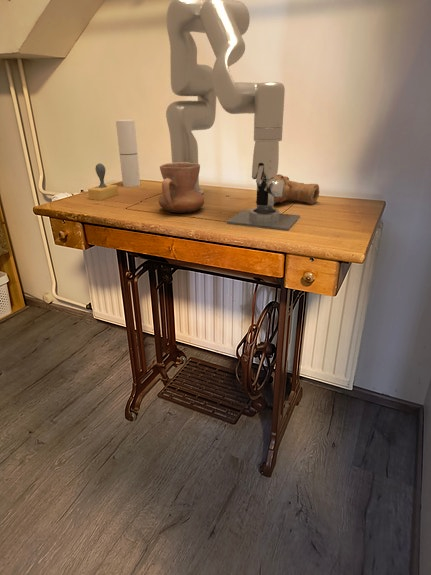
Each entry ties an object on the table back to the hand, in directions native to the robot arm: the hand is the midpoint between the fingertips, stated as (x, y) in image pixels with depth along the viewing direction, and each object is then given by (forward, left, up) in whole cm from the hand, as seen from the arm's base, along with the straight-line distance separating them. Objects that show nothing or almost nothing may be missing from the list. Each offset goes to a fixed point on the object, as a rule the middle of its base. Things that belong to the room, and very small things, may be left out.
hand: (265, 202), depth 111 cm
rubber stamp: (-64, +8, -6) cm, 65 cm away
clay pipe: (+1, +22, -6) cm, 23 cm away
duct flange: (0, 0, -5) cm, 5 cm away
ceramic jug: (-28, +1, -6) cm, 29 cm away
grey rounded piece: (+1, 0, -2) cm, 2 cm away
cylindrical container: (-67, +30, -6) cm, 74 cm away
